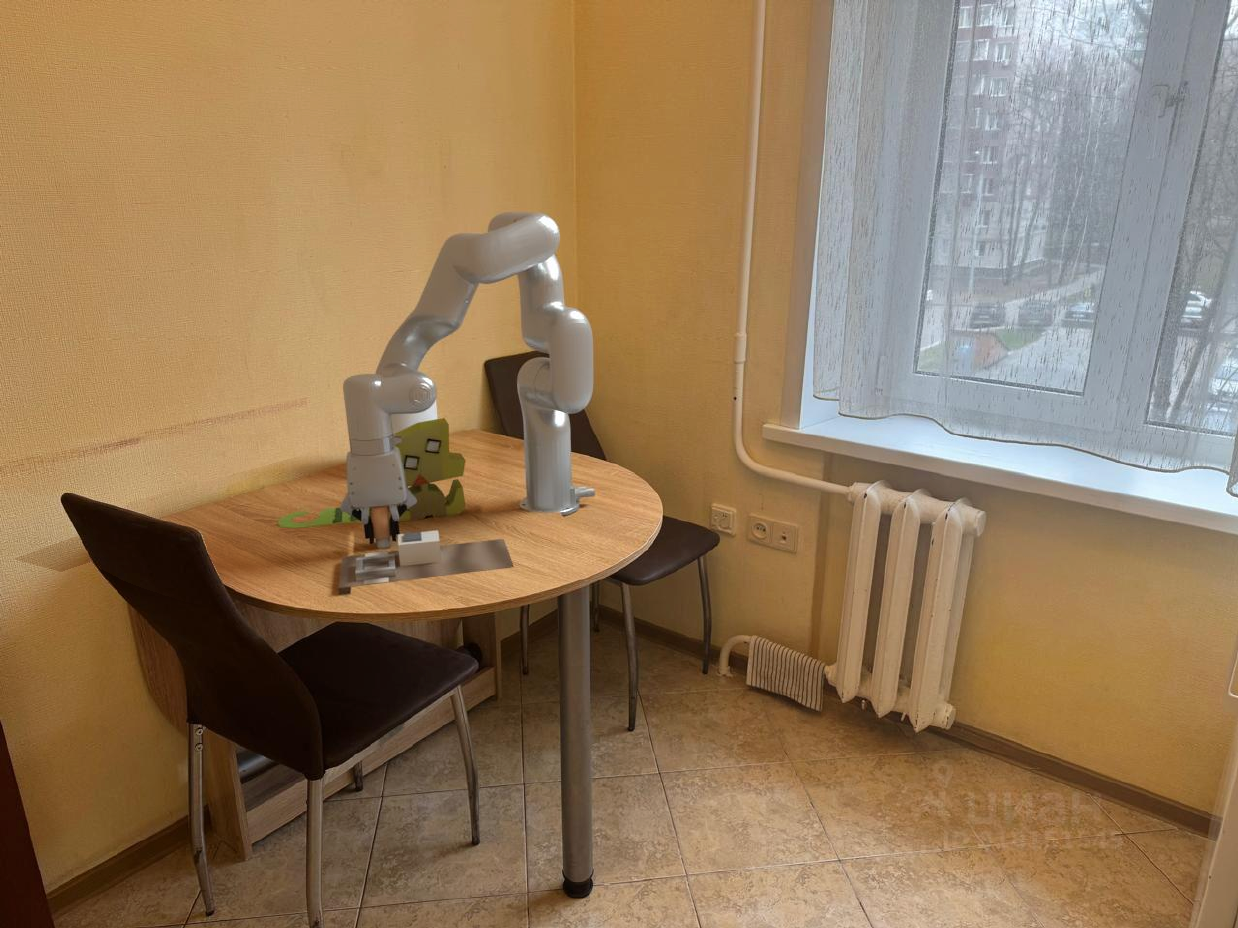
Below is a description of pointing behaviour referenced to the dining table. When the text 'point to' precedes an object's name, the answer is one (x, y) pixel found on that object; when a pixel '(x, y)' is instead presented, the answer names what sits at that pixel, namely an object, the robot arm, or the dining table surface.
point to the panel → (452, 562)
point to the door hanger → (319, 518)
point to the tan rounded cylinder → (381, 525)
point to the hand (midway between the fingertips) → (383, 539)
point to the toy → (431, 470)
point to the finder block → (419, 548)
